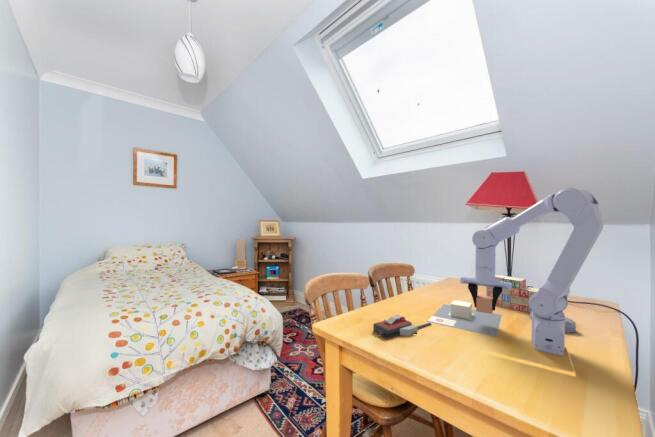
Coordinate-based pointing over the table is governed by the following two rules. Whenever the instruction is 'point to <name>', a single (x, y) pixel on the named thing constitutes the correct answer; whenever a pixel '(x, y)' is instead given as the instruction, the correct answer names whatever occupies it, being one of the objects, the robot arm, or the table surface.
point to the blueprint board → (468, 321)
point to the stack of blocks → (513, 294)
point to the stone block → (568, 325)
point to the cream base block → (461, 309)
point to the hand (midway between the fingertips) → (484, 308)
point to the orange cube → (484, 304)
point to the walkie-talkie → (396, 327)
